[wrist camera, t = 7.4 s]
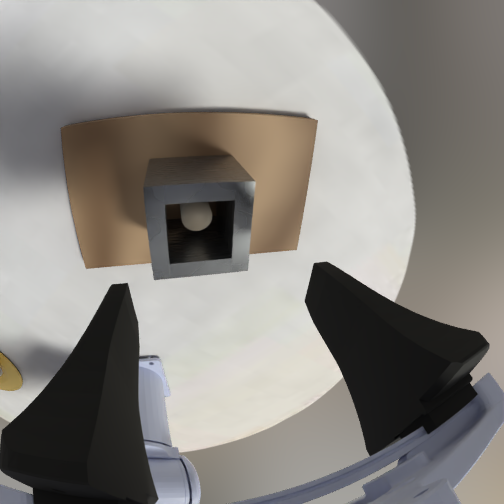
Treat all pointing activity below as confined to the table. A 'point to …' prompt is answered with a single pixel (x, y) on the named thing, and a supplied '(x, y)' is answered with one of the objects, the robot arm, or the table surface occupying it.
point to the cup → (9, 375)
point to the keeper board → (180, 145)
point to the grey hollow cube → (220, 228)
